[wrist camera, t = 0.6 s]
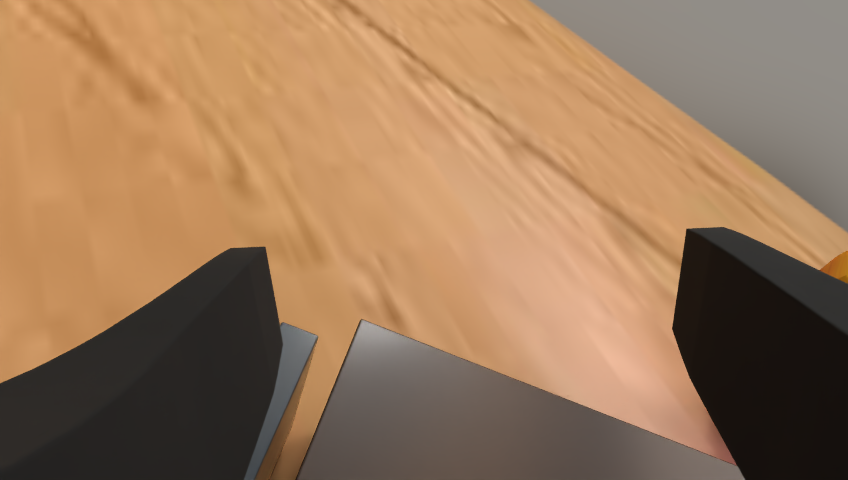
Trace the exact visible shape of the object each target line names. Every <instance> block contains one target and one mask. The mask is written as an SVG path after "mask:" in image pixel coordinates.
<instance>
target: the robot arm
mask: <svg viewBox="0 0 848 480" xmlns="http://www.w3.org/2000/svg"><path fill="white" fill-rule="evenodd" d="M672 330H673V333H674V336H675V338H676V341H677V344H678V347H679V350H680V353H681V356H682V359H683V361H684V364H685V367H686V369H687V372H688V374H689V377H690V379H691V381H692V383H693V385H694V387H695V389H696V391H697V392H698V394H699V396H700V398H701V400H702V402H703V404H704V406H705V407H706V409H707V411H708V413H709V415H710V417H711V419H712V420H713V422H714V424H715V426H716V428H717V429H718V431H719V433H720V435H721V437H722V439H723V440H724V442H725V444H726V446H727V448H728V449H729V451H730V453H731V455H732V457H733V459H734V460H735V462H736V464H737V466H738V468H739V470H740V471H741V473H742V475H743V477H744V479H745V480H848V283H845V282H843V281H841V280H839V279H837V278H834V277H832V276H830V275H828V274H826V273H824V272H822V271H819V270H817V269H815V268H813V267H811V266H809V265H807V264H805V263H803V262H801V261H798V260H796V259H794V258H792V257H790V256H788V255H786V254H784V253H782V252H780V251H778V250H776V249H774V248H772V247H769V246H767V245H765V244H763V243H761V242H759V241H757V240H754V239H752V238H750V237H748V236H746V235H743V234H741V233H738V232H736V231H733V230H730V229H727V228H724V227H717V228H693V229H687V230H686V237H685V244H684V251H683V258H682V265H681V272H680V278H679V285H678V292H677V299H676V306H675V313H674V320H673V327H672ZM282 347H283V340H282V335H281V329H280V324H279V318H278V313H277V308H276V302H275V297H274V291H273V286H272V280H271V275H270V269H269V264H268V258H267V253H266V248H265V247H248V248H230V249H228V250H226V251H224V252H223V253H221V254H219V255H218V256H216V257H215V258H213V259H212V260H210V261H209V262H207V263H206V264H204V265H203V266H201V267H200V268H199V269H197V270H196V271H194V272H193V273H191V274H190V275H189V276H187V277H186V278H184V279H183V280H181V281H180V282H179V283H177V284H176V285H174V286H173V287H171V288H170V289H169V290H167V291H166V292H164V293H163V294H161V295H160V296H158V297H157V298H156V299H154V300H153V301H151V302H150V303H148V304H146V305H145V306H143V307H142V308H140V309H139V310H137V311H135V312H134V313H132V314H131V315H129V316H128V317H126V318H124V319H123V320H121V321H120V322H118V323H117V324H115V325H113V326H112V327H110V328H109V329H107V330H106V331H104V332H102V333H100V334H99V335H97V336H95V337H94V338H92V339H90V340H88V341H86V342H85V343H83V344H81V345H79V346H77V347H76V348H74V349H72V350H70V351H68V352H66V353H64V354H62V355H60V356H58V357H56V358H54V359H52V360H50V361H49V362H47V363H45V364H43V365H40V366H38V367H36V368H34V369H32V370H30V371H28V372H25V373H23V374H21V375H18V376H16V377H14V378H12V379H9V380H7V381H5V382H2V383H0V480H244V478H245V475H246V472H247V470H248V467H249V464H250V461H251V458H252V455H253V452H254V450H255V447H256V444H257V441H258V438H259V435H260V432H261V429H262V427H263V424H264V421H265V418H266V415H267V412H268V409H269V406H270V403H271V400H272V397H273V394H274V390H275V385H276V380H277V375H278V370H279V364H280V359H281V353H282Z"/></svg>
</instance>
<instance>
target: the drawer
mask: <svg viewBox="0 0 848 480" xmlns="http://www.w3.org/2000/svg"><path fill="white" fill-rule="evenodd" d="M280 329H281V335H282V340H283V347H282V353H281V359H280V364H279V370H278V375H277V380H276V385H275V390H274V394H273V397H272V400H271V403H270V406H269V409H268V412H267V415H266V418H265V421H264V424H263V427H262V429H261V432H260V435H259V438H258V441H257V444H256V447H255V450H254V452H253V455H252V458H251V461H250V464H249V467H248V470H247V472H246V475H245V478H244V480H269V479H270V476H271V474H272V472H273V469H274V467H275V465H276V462H277V460H278V458H279V456H280V453H281V451H282V449H283V446H284V444H285V442H286V439H287V437H288V435H289V432H290V430H291V427H292V424H293V420H294V417H295V414H296V410H297V407H298V404H299V400H300V397H301V393H302V390H303V387H304V383H305V380H306V377H307V373H308V370H309V366H310V363H311V360H312V356H313V353H314V350H315V346H316V343H317V339H318V336H317V335H315V334H312V333H309V332H307V331H304V330H302V329H299V328H297V327H294V326H291V325H289V324H286V323H284V322H282V323H281V325H280Z"/></svg>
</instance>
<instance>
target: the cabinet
mask: <svg viewBox="0 0 848 480" xmlns="http://www.w3.org/2000/svg"><path fill="white" fill-rule="evenodd" d="M296 480H745V479H744V477H743V475H742V473H741V471H740V470H739V468H738V466H736V465H734V464H731V463H728V462H726V461H723V460H721V459H718V458H716V457H713V456H711V455H708V454H705V453H703V452H700V451H698V450H695V449H693V448H690V447H688V446H685V445H682V444H680V443H677V442H675V441H672V440H670V439H667V438H665V437H662V436H659V435H657V434H654V433H652V432H649V431H647V430H644V429H641V428H639V427H636V426H634V425H631V424H629V423H626V422H624V421H621V420H618V419H616V418H613V417H611V416H608V415H606V414H603V413H601V412H598V411H595V410H593V409H590V408H588V407H585V406H583V405H580V404H578V403H575V402H572V401H570V400H567V399H565V398H562V397H560V396H557V395H555V394H552V393H549V392H547V391H544V390H542V389H539V388H537V387H534V386H531V385H529V384H526V383H524V382H521V381H519V380H516V379H514V378H511V377H508V376H506V375H503V374H501V373H498V372H496V371H493V370H491V369H488V368H485V367H483V366H480V365H478V364H475V363H473V362H470V361H468V360H465V359H462V358H460V357H457V356H455V355H452V354H450V353H447V352H445V351H442V350H439V349H437V348H434V347H432V346H429V345H427V344H424V343H421V342H419V341H416V340H414V339H411V338H409V337H406V336H404V335H401V334H398V333H396V332H393V331H391V330H388V329H386V328H383V327H381V326H378V325H375V324H373V323H370V322H368V321H365V320H362V319H361V320H360V322H359V324H358V327H357V329H356V332H355V334H354V337H353V339H352V342H351V344H350V347H349V349H348V352H347V354H346V356H345V359H344V361H343V364H342V366H341V369H340V371H339V374H338V376H337V379H336V381H335V384H334V386H333V389H332V391H331V394H330V396H329V399H328V401H327V403H326V406H325V408H324V411H323V413H322V416H321V418H320V421H319V423H318V426H317V428H316V431H315V433H314V436H313V438H312V441H311V443H310V446H309V448H308V451H307V453H306V455H305V458H304V460H303V463H302V465H301V468H300V470H299V473H298V475H297V478H296Z"/></svg>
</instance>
